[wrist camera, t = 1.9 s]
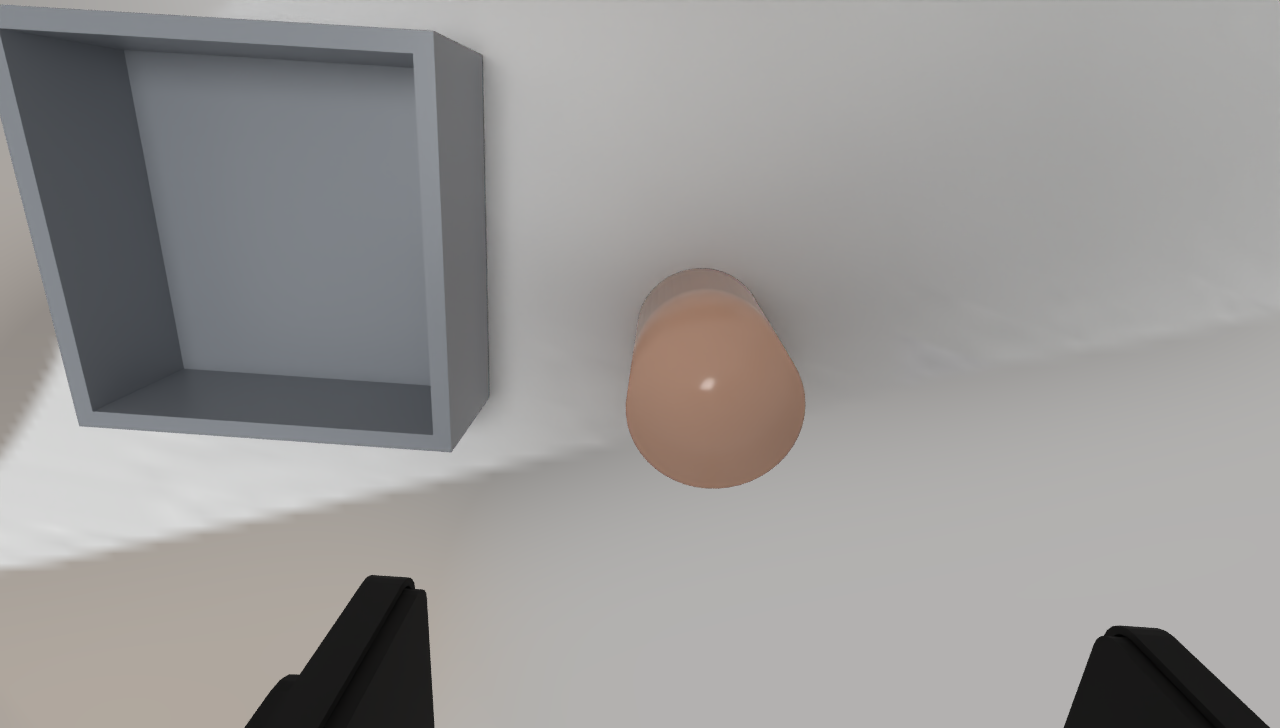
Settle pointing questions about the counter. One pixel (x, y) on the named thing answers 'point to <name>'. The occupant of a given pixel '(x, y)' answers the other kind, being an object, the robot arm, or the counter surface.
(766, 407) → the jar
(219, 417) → the bin
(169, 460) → the counter surface
